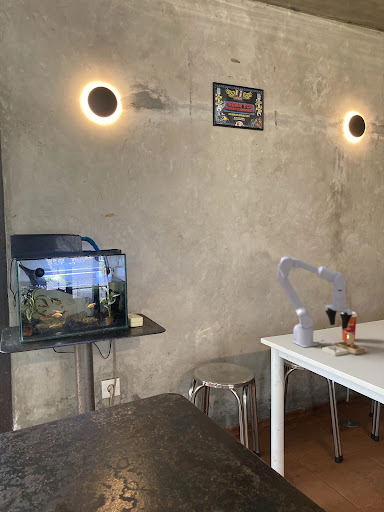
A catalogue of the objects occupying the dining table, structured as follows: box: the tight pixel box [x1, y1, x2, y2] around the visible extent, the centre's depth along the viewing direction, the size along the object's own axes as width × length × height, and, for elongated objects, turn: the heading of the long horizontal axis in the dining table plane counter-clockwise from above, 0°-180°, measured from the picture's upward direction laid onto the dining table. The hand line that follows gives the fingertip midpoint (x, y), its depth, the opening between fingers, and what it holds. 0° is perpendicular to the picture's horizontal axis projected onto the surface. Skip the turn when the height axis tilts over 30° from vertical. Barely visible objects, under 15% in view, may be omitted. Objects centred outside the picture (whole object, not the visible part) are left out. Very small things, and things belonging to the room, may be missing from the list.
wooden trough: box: [334, 340, 367, 356], centre depth 176 cm, size 12×6×2 cm, turn 24°
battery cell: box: [346, 333, 355, 349], centre depth 176 cm, size 3×3×8 cm
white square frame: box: [321, 344, 349, 357], centre depth 174 cm, size 8×8×2 cm
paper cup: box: [340, 311, 358, 341], centre depth 191 cm, size 8×8×14 cm
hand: (338, 326), depth 182 cm, fingers open, 7 cm apart
